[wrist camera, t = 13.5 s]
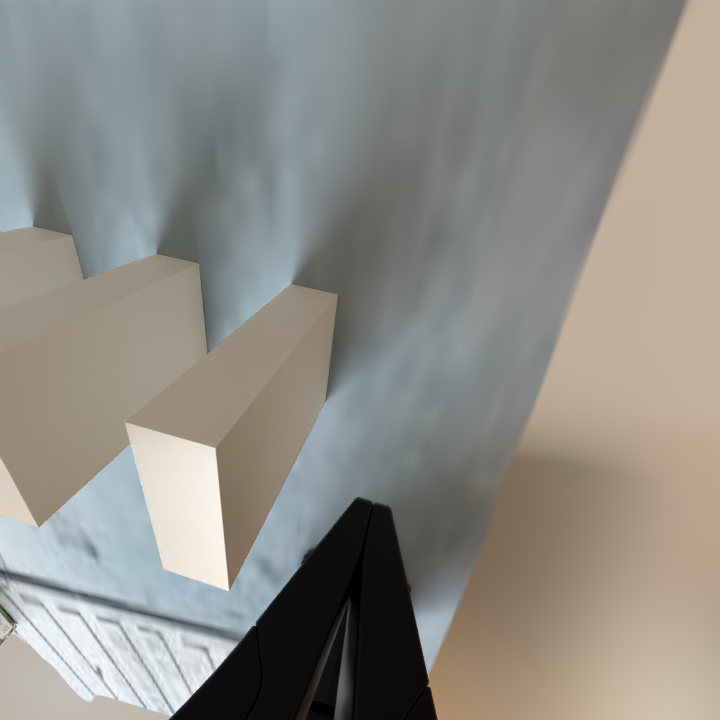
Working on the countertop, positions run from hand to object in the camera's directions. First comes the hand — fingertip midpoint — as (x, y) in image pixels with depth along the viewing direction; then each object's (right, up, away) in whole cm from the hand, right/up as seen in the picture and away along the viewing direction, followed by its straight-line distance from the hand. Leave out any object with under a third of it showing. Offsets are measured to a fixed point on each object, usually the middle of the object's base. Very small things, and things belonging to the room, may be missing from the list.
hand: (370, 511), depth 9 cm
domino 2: (-8, +5, +7) cm, 11 cm away
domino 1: (-2, +4, +6) cm, 8 cm away
